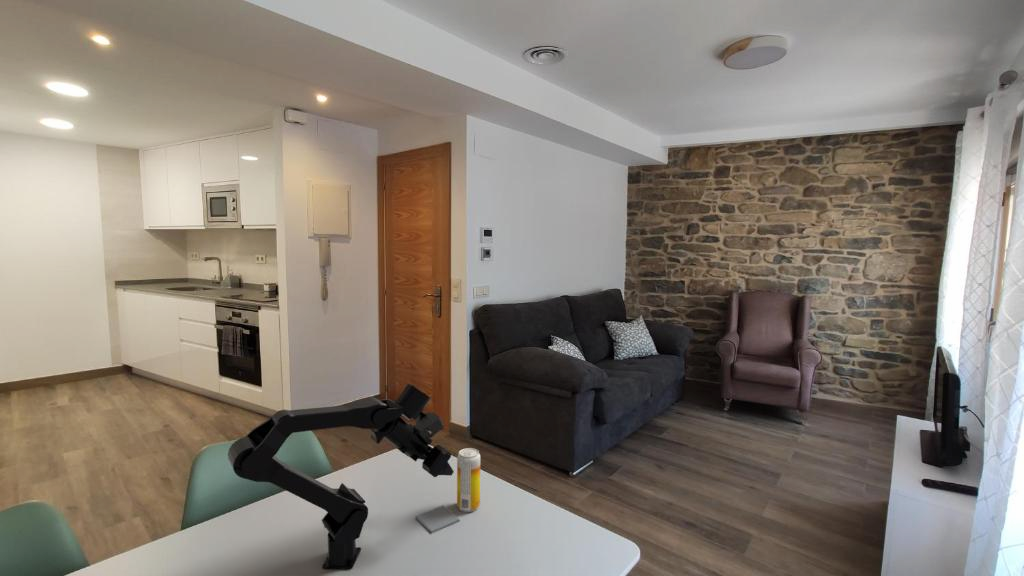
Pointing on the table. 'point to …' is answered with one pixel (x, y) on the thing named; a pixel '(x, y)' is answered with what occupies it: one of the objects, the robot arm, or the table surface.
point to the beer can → (468, 479)
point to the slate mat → (437, 519)
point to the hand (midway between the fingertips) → (442, 466)
